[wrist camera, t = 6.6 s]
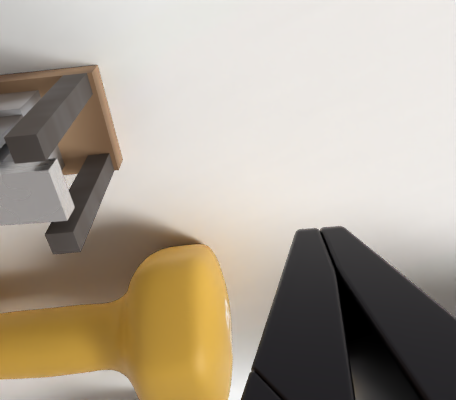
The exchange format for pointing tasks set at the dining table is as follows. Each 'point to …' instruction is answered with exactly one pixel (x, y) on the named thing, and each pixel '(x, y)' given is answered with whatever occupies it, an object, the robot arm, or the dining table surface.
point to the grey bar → (33, 193)
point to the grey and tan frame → (62, 139)
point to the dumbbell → (136, 332)
